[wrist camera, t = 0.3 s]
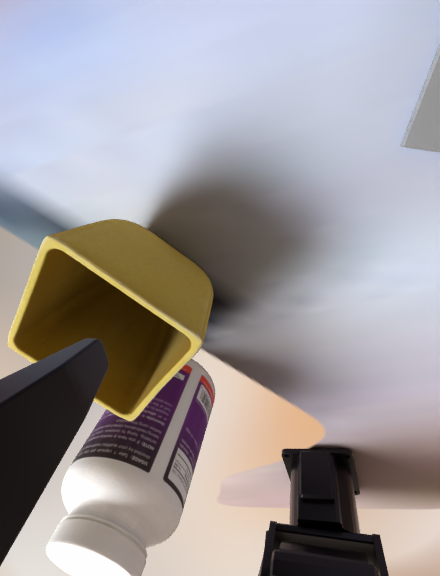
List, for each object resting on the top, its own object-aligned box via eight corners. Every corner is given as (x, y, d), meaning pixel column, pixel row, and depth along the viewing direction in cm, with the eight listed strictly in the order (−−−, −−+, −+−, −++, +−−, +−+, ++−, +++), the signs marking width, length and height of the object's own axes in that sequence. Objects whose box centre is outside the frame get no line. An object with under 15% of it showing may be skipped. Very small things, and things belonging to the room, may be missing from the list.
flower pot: (135, 187, 21) (42, 231, 14) (238, 263, 22) (206, 344, 15) (91, 275, 26) (3, 345, 18) (178, 335, 27) (130, 425, 19)
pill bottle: (122, 373, 31) (5, 546, 19) (165, 330, 27) (51, 514, 15) (186, 419, 32) (116, 609, 20) (236, 384, 28) (186, 595, 16)
